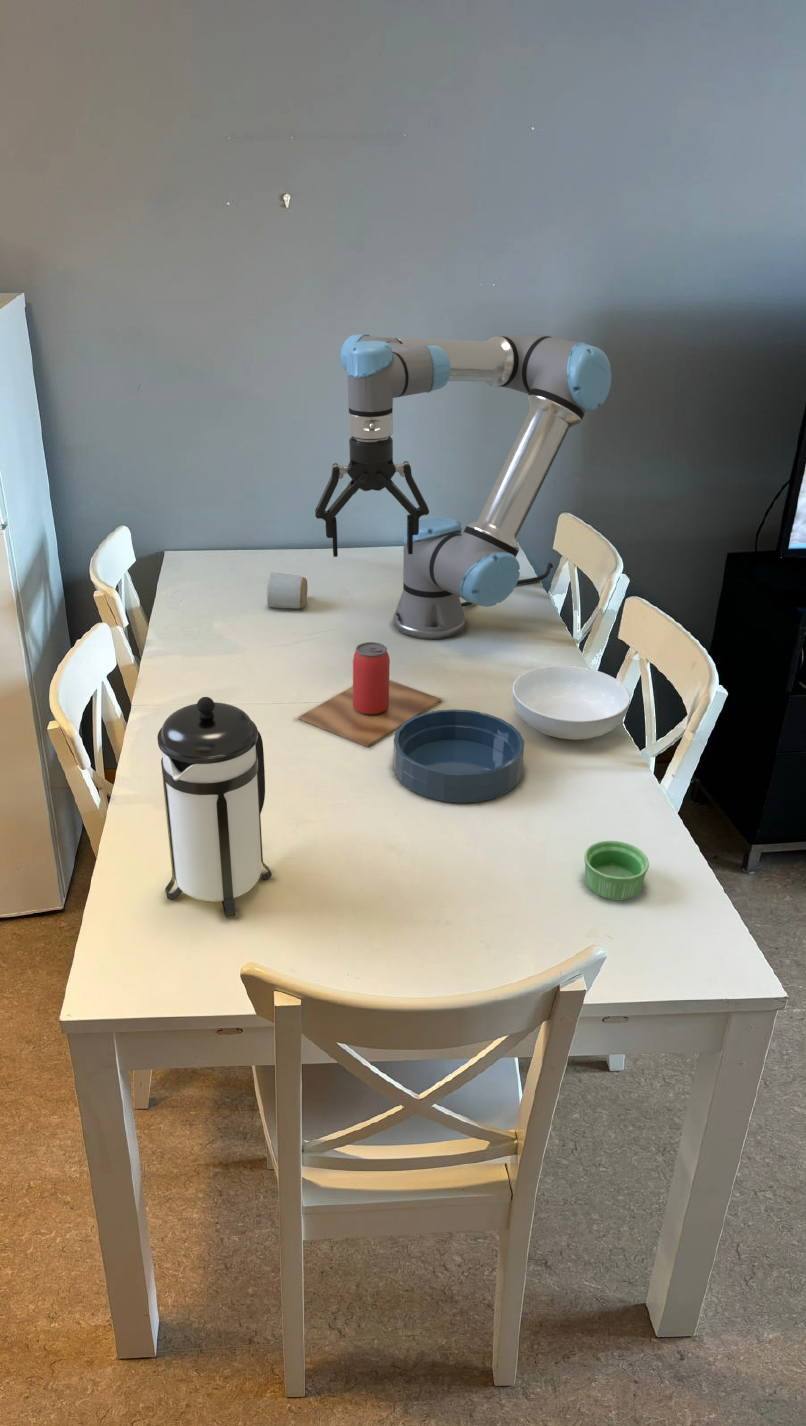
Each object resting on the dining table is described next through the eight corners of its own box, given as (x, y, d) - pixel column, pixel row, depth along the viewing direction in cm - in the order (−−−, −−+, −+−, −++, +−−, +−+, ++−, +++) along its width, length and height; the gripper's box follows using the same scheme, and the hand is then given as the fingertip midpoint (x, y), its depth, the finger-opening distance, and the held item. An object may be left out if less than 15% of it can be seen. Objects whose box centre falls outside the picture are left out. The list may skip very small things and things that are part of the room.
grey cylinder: (304, 614, 235) (303, 581, 232) (266, 612, 236) (265, 579, 232) (310, 596, 245) (310, 564, 241) (274, 594, 245) (273, 562, 241)
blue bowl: (441, 724, 193) (443, 697, 191) (545, 763, 182) (548, 735, 180) (367, 773, 178) (367, 745, 175) (475, 819, 167) (477, 789, 164)
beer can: (384, 718, 194) (385, 658, 188) (349, 714, 195) (348, 654, 189) (392, 701, 199) (393, 642, 194) (357, 697, 201) (357, 639, 195)
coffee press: (289, 909, 147) (282, 717, 133) (171, 929, 143) (150, 733, 128) (266, 838, 162) (258, 657, 147) (158, 854, 157) (139, 670, 143)
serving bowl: (496, 740, 189) (498, 706, 185) (525, 689, 206) (528, 657, 203) (614, 764, 182) (619, 728, 179) (634, 709, 200) (639, 676, 196)
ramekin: (603, 910, 148) (607, 884, 146) (569, 873, 155) (572, 848, 153) (657, 894, 152) (661, 869, 149) (621, 859, 159) (625, 834, 157)
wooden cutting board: (373, 676, 209) (373, 674, 209) (441, 701, 201) (441, 698, 201) (298, 719, 194) (298, 716, 194) (367, 747, 186) (367, 745, 185)
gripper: (298, 444, 181) (304, 562, 192) (445, 440, 183) (443, 558, 194) (298, 432, 188) (303, 547, 198) (440, 429, 190) (438, 543, 200)
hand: (372, 553), depth 196 cm, fingers open, 13 cm apart
